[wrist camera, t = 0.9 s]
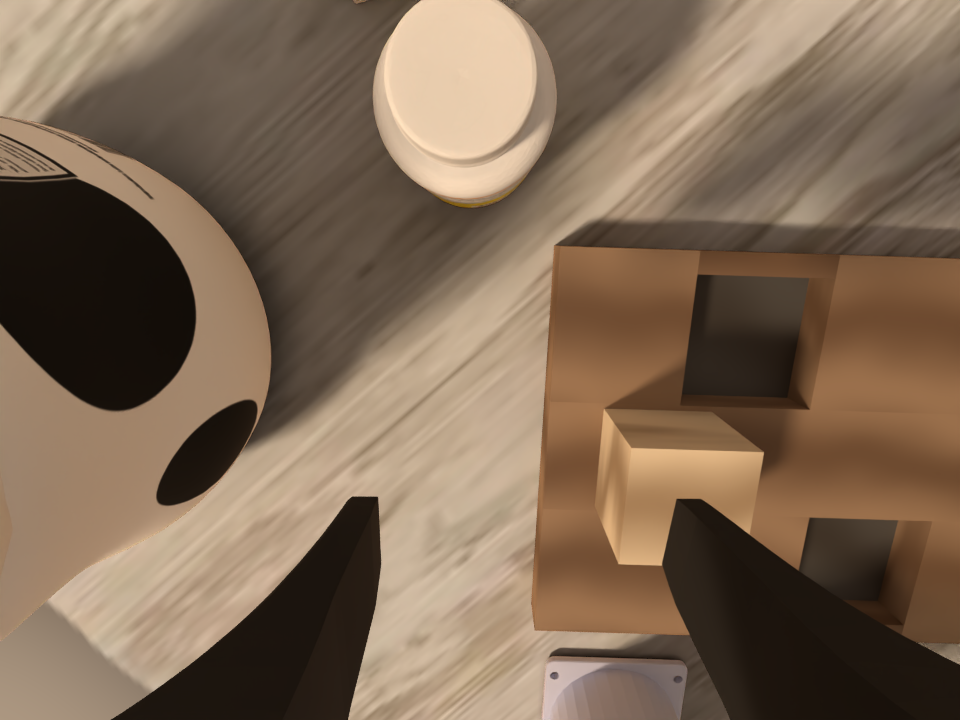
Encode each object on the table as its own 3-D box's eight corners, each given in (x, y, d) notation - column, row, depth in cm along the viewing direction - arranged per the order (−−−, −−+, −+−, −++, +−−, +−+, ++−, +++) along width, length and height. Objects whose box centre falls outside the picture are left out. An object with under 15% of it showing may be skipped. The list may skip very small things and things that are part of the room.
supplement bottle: (435, 54, 22) (396, -97, 12) (553, 108, 22) (609, 6, 12) (390, 180, 23) (321, 139, 13) (503, 229, 24) (518, 224, 14)
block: (697, 509, 25) (743, 568, 20) (594, 506, 25) (618, 564, 20) (711, 412, 23) (764, 452, 19) (603, 408, 23) (631, 447, 19)
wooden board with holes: (996, 617, 28) (1077, 678, 24) (531, 603, 28) (538, 661, 24) (1110, 263, 24) (1233, 268, 20) (554, 245, 24) (568, 247, 20)
